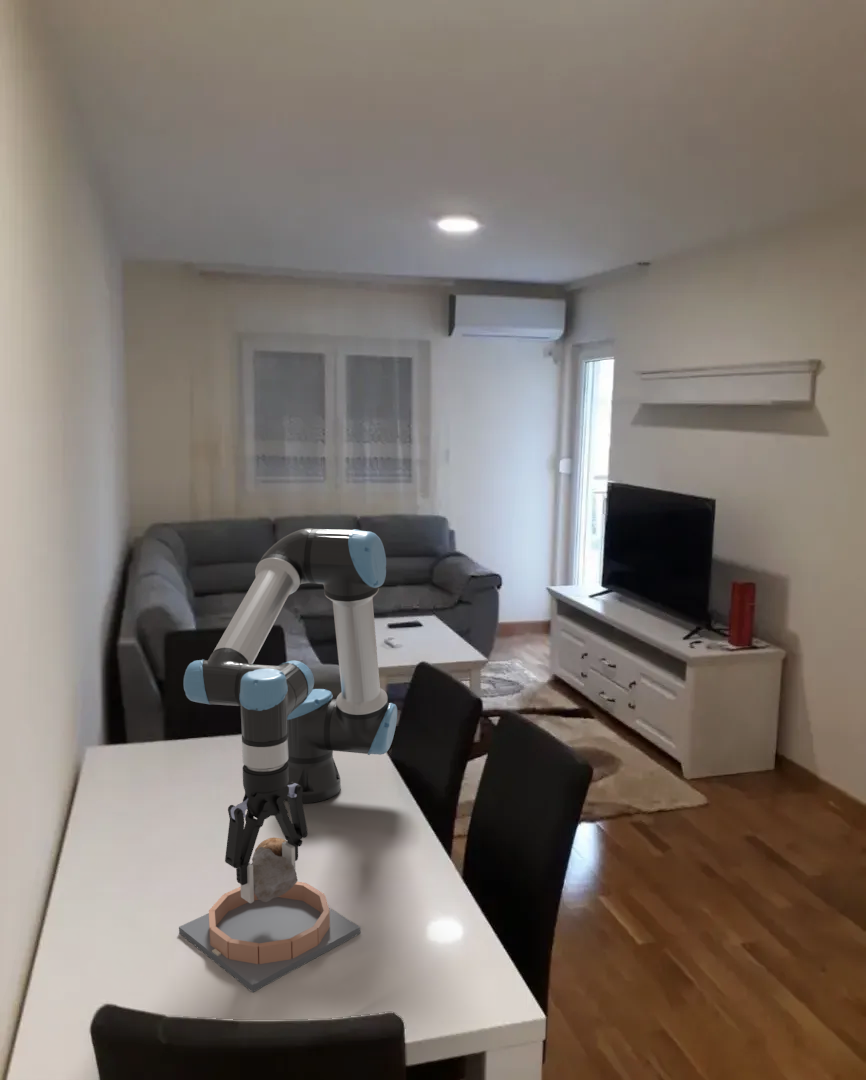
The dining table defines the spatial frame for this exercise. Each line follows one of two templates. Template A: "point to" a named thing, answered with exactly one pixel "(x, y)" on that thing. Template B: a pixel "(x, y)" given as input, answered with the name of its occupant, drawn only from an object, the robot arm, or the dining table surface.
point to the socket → (268, 933)
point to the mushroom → (272, 845)
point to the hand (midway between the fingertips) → (268, 889)
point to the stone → (271, 875)
